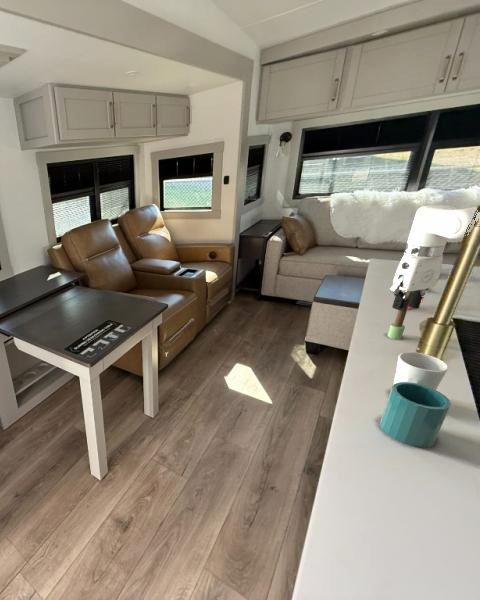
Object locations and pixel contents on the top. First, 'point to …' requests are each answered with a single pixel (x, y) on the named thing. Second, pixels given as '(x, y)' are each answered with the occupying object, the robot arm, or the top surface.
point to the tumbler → (414, 414)
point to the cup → (420, 369)
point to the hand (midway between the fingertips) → (405, 307)
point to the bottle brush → (399, 322)
